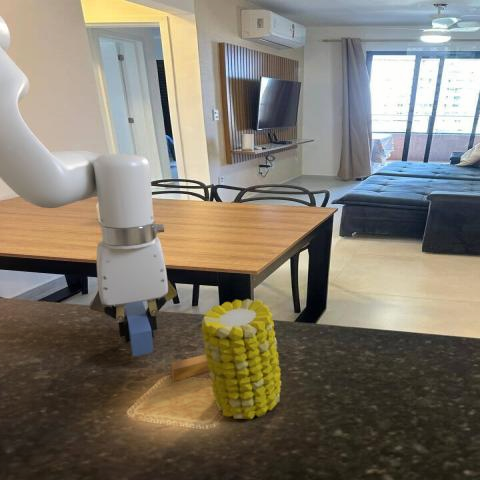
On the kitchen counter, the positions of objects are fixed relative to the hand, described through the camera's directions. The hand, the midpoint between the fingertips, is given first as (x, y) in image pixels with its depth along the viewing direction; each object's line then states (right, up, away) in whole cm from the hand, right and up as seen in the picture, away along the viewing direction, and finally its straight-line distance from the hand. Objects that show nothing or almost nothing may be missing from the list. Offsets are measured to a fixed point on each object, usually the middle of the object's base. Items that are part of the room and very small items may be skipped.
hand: (138, 335), depth 66 cm
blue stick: (0, 0, 0) cm, 0 cm away
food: (+20, -7, -11) cm, 24 cm away
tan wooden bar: (+14, -4, -4) cm, 15 cm away
